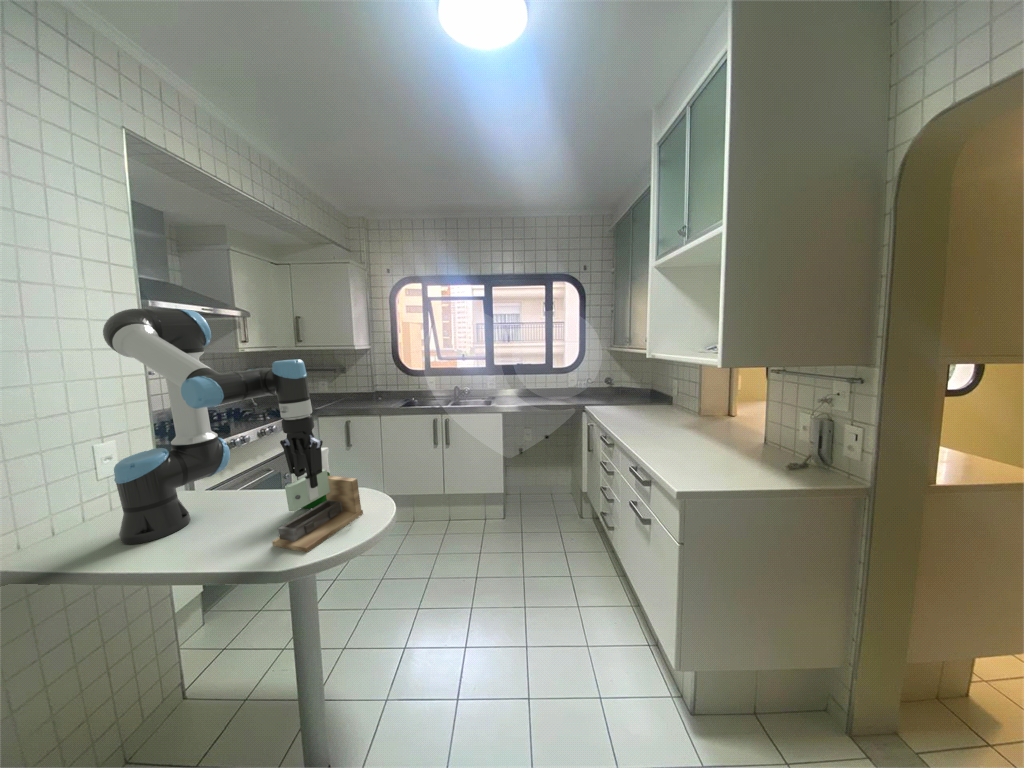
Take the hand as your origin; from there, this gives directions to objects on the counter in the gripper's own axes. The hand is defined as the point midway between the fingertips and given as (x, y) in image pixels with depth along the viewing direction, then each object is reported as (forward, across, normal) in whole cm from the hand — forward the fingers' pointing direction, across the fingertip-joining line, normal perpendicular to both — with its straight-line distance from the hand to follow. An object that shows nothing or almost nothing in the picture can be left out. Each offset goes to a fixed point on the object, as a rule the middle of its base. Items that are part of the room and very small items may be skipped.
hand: (310, 497), depth 105 cm
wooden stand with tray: (+9, +2, 0) cm, 9 cm away
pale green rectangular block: (+1, 0, 0) cm, 1 cm away
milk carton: (+9, -12, +12) cm, 19 cm away
